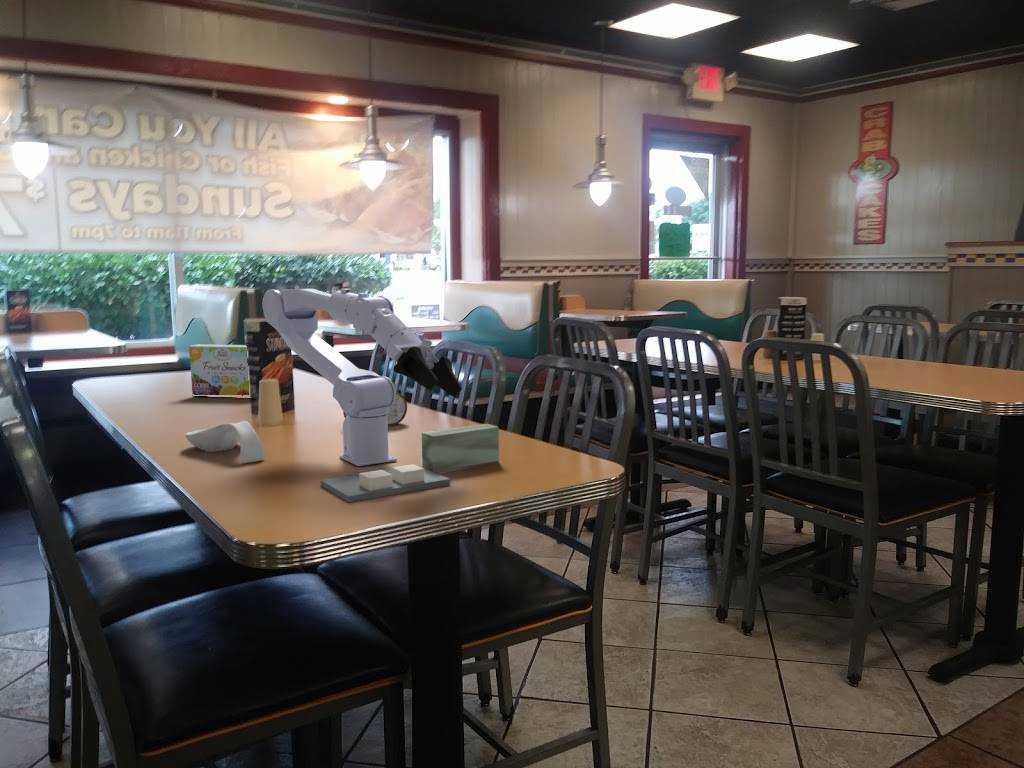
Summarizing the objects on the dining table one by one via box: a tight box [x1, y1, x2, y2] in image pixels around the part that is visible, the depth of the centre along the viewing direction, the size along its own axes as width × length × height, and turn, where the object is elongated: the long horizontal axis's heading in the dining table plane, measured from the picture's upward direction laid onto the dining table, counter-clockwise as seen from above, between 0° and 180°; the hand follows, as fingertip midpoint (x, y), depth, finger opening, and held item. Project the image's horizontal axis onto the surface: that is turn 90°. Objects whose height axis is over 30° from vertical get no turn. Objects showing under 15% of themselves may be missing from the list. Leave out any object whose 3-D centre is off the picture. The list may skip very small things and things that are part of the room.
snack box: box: [188, 343, 249, 396], centre depth 229 cm, size 21×6×15 cm, turn 81°
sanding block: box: [421, 423, 500, 474], centre depth 146 cm, size 4×14×7 cm, turn 125°
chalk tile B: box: [391, 463, 424, 484], centre depth 133 cm, size 4×4×2 cm
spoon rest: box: [184, 420, 266, 465], centre depth 158 cm, size 24×12×7 cm, turn 43°
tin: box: [342, 390, 408, 427], centre depth 183 cm, size 15×3×8 cm, turn 122°
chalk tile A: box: [358, 469, 393, 491], centre depth 129 cm, size 4×4×2 cm
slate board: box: [320, 464, 451, 503], centre depth 133 cm, size 12×18×1 cm, turn 124°
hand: (446, 389), depth 136 cm, fingers open, 7 cm apart
